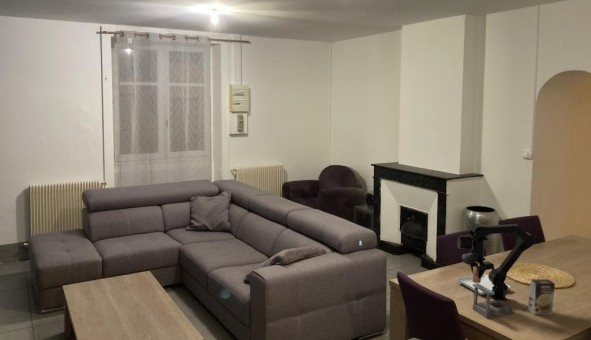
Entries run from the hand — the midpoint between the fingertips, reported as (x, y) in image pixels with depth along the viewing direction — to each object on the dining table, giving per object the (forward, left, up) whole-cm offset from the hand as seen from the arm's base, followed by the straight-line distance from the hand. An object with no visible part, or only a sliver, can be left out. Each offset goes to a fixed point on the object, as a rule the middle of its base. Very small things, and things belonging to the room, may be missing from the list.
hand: (476, 276), depth 259 cm
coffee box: (-19, +24, -12) cm, 33 cm away
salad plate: (-13, -11, -12) cm, 21 cm away
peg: (0, 0, -3) cm, 2 cm away
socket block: (+2, +16, -12) cm, 20 cm away
